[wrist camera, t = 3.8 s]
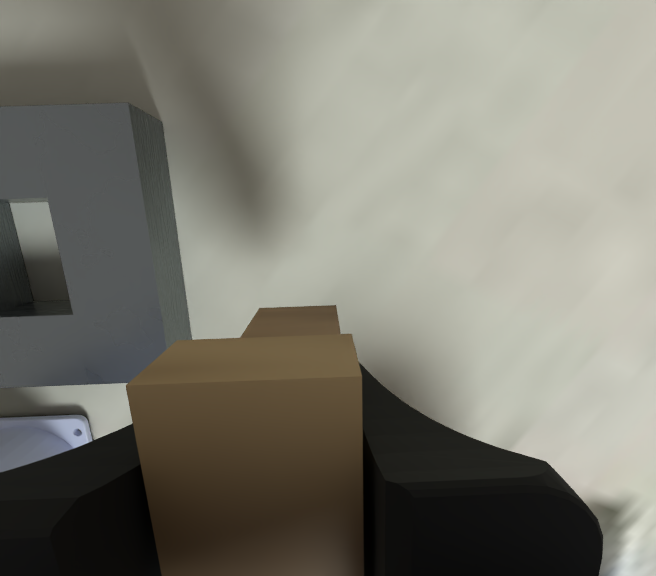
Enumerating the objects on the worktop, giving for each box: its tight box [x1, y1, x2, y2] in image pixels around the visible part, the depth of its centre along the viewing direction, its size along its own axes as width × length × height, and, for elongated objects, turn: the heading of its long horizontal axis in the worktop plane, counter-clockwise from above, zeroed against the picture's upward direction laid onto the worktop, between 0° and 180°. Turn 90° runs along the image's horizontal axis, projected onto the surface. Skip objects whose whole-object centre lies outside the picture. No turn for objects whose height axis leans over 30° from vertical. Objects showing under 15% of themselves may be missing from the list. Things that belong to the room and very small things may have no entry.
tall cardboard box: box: [126, 305, 364, 576], centre depth 9 cm, size 7×3×8 cm, turn 2°
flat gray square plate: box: [0, 103, 192, 388], centre depth 17 cm, size 13×13×3 cm
